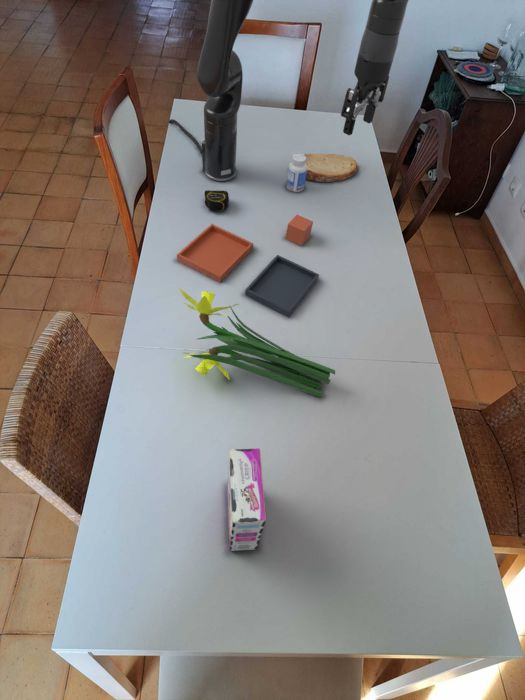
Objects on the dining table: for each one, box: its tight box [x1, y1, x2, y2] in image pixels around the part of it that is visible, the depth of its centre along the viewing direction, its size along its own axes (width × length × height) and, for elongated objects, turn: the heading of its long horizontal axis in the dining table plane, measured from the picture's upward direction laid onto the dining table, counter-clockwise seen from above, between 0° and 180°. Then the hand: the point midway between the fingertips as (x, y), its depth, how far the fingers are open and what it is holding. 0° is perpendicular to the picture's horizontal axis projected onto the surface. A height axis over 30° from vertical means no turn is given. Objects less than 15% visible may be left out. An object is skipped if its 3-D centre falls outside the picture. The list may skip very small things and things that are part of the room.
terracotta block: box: [285, 214, 314, 247], centre depth 122 cm, size 5×5×5 cm
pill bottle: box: [286, 153, 307, 193], centre depth 134 cm, size 6×5×10 cm
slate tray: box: [244, 254, 320, 318], centre depth 112 cm, size 12×15×2 cm
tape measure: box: [204, 190, 230, 212], centre depth 128 cm, size 7×7×4 cm
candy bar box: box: [226, 447, 267, 552], centre depth 72 cm, size 11×5×16 cm, turn 5°
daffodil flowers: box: [178, 287, 336, 398], centre depth 92 cm, size 17×15×35 cm
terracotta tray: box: [176, 223, 254, 283], centre depth 117 cm, size 13×15×2 cm
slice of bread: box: [303, 153, 358, 183], centre depth 144 cm, size 18×18×4 cm
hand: (357, 127), depth 110 cm, fingers open, 8 cm apart
